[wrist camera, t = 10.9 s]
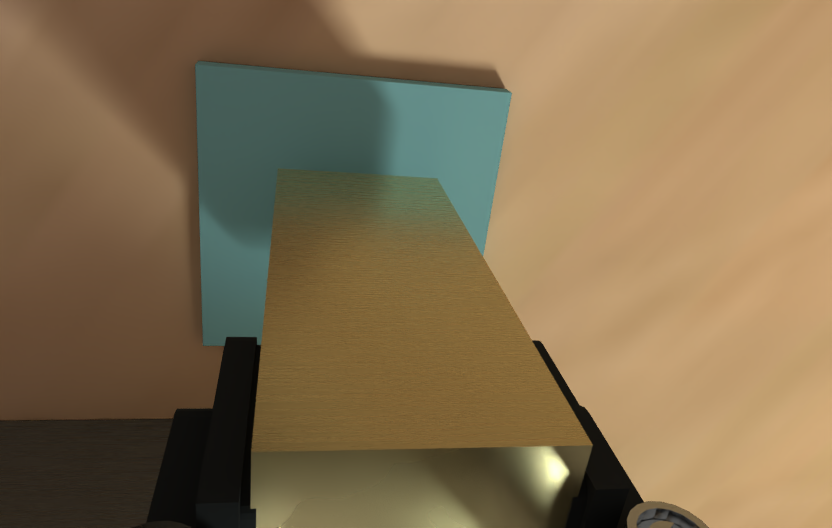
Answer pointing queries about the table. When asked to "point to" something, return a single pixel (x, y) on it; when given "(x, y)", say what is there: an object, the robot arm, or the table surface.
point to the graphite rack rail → (79, 472)
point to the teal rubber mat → (323, 161)
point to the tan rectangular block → (399, 371)
